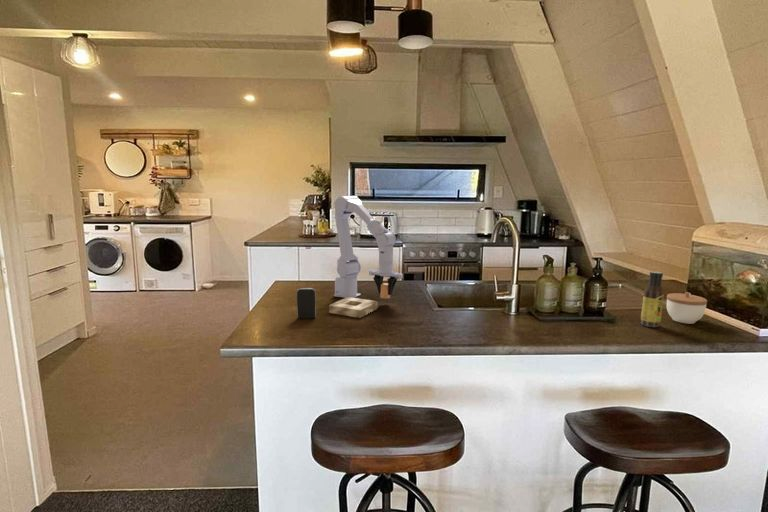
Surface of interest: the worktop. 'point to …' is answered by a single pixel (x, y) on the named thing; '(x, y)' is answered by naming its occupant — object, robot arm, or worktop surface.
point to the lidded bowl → (685, 307)
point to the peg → (384, 291)
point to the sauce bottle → (652, 301)
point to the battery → (306, 303)
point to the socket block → (353, 307)
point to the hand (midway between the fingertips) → (385, 293)
